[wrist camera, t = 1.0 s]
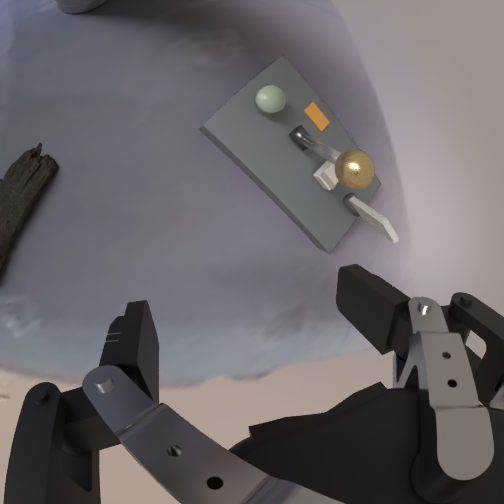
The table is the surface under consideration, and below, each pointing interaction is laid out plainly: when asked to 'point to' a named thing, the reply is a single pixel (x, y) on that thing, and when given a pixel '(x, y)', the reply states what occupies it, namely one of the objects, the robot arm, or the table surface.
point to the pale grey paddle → (370, 216)
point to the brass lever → (339, 160)
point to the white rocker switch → (326, 175)
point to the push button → (270, 99)
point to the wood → (21, 194)
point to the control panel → (288, 152)
